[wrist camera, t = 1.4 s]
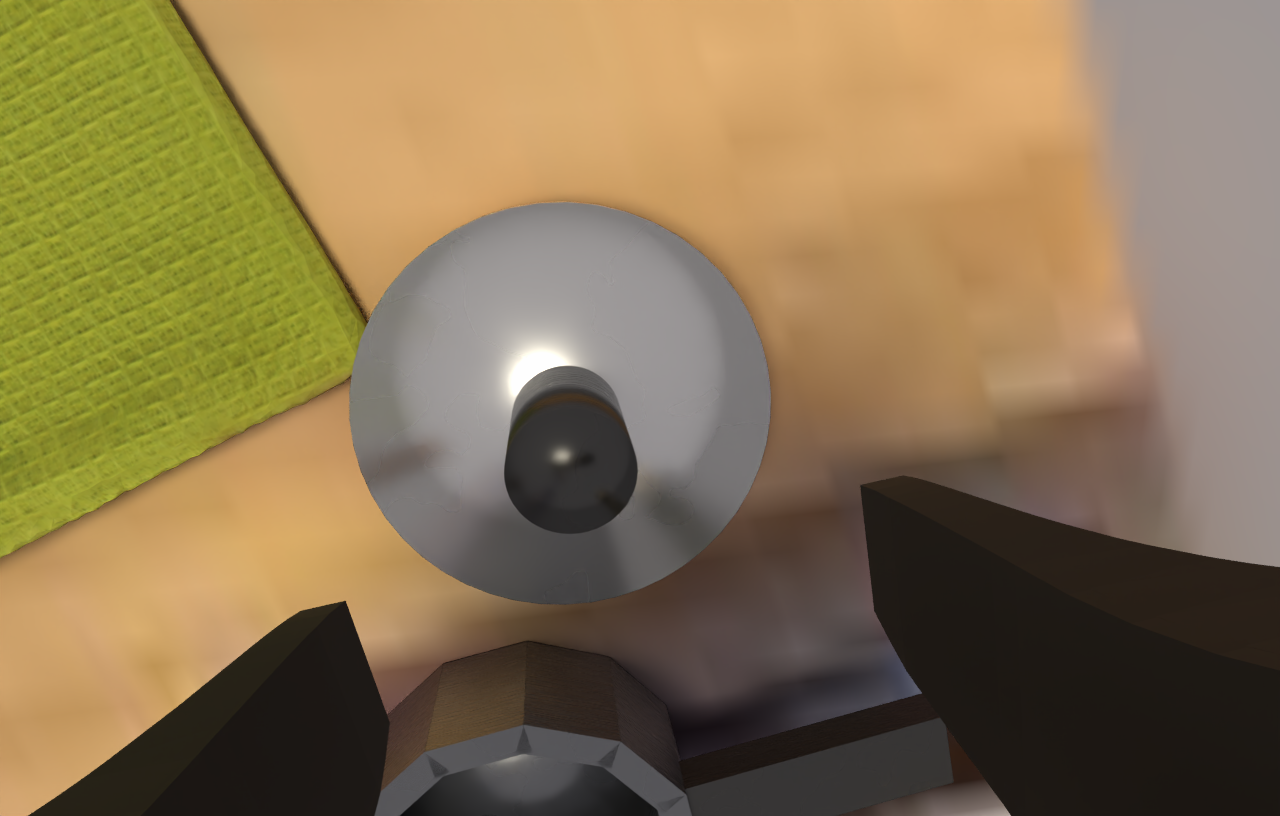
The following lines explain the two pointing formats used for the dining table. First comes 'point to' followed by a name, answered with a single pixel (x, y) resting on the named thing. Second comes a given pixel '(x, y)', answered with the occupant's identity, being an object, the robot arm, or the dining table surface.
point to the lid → (560, 403)
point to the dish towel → (140, 263)
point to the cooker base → (630, 749)
